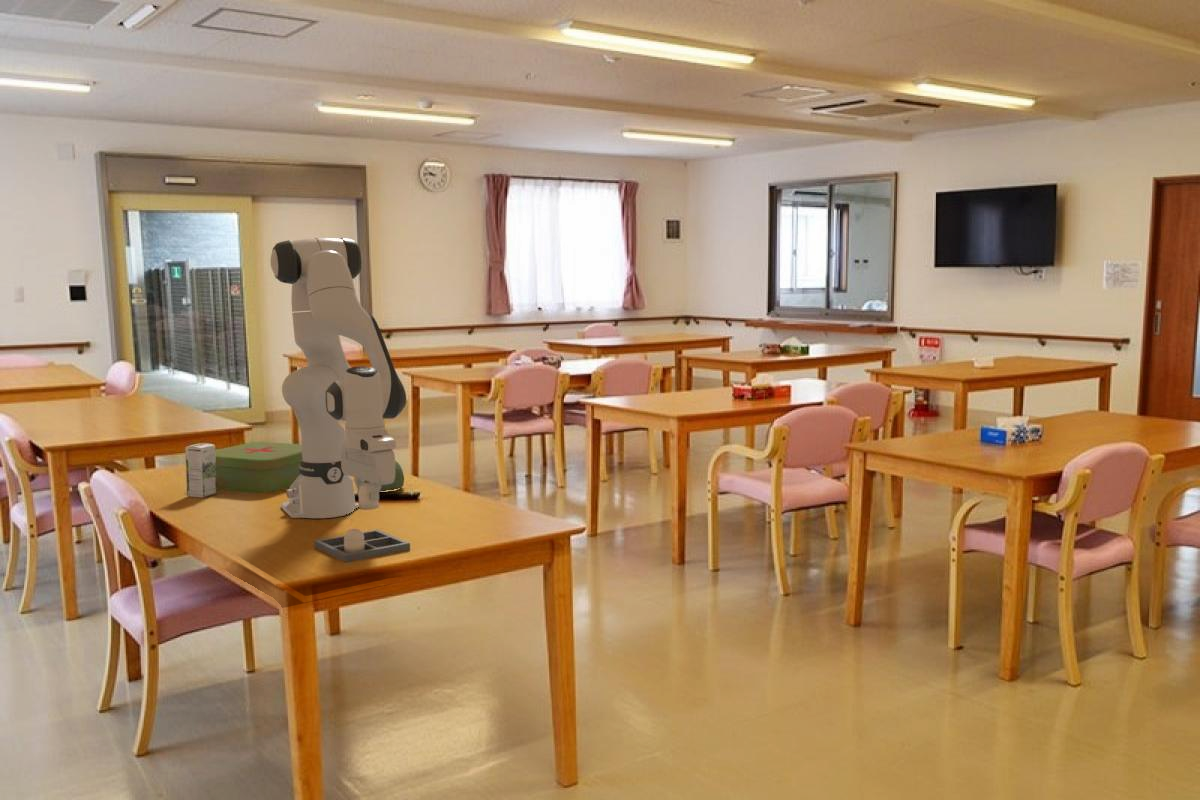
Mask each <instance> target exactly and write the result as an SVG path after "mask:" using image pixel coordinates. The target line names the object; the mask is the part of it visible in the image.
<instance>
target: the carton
mask: <svg viewBox="0 0 1200 800" xmlns="http://www.w3.org/2000/svg"><path fill="white" fill-rule="evenodd" d="M362 533H363V534H364V541H365V550H364V551H359V552H354V553H348V554H347V553H345V552H344V535H345V534H344V535H339V536H333V537H327V538H322V539H315V540H314V548H315V549H316V550H317V549H318V550H319V551H320V552H323V553H326V554H328V555H329V556H331V557H333V558H334V559H335V558H336V559H337V560H340V561H341V562H343V563H345V564H346V563H349V562H350V563H351V562H354V561H355V562H356V561H360V560H366V559H370V558H375V557H380V556H386V555H391V554H396V553H401V551H402V552H406V550H407V551H410V550H411V543H410V542H408V541H406V540H404V539H401V538H399V537H396V536H394V535H392V534H389V533H387V532H385V531H382V530H381V529H380V530H379V529H373V530H367V531H362Z"/></svg>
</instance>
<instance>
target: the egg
mask: <svg viewBox="0 0 1200 800" xmlns="http://www.w3.org/2000/svg"><path fill="white" fill-rule="evenodd" d="M371 487H372V486H370V483H369V482H368V483H364V484H362V485H361V486H360V488H359V491H357V495H358V494H359V496H358V503H359V508H358V509H359V510H362V511H363V510H365V511H369V510H370V511H371V510H376V509H379V507H380V502H379V501H380V499H379V500H378V501H371V500H370V499H369V493H371Z"/></svg>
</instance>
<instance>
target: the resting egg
mask: <svg viewBox="0 0 1200 800" xmlns="http://www.w3.org/2000/svg"><path fill="white" fill-rule="evenodd" d="M362 532H363V531H362V530H360V529H359V528H350V529H349V530H347V531H346V532H345V534H344V552H345V553H347V554H348V553H354V552H359V551H364V550H365V541H364V534H363V533H362Z"/></svg>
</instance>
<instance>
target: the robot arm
mask: <svg viewBox="0 0 1200 800" xmlns="http://www.w3.org/2000/svg"><path fill="white" fill-rule="evenodd" d="M360 248H361V247H360V246H359V244H358V243H357V241H355V240H354V239H351V238H345V237H340V238H334V237H333V238H332V237H315V238H307V239H306V238H305V239H297V240H292V241H290V240H289V239H288V240H282V241H279V242H277V243H276V244H275V245H274V247H272V250H271V251H272V252H271V254H270V255H271V256H270V261H269V263H270V267H271V270H272V272H273V274H274V277H275V279H276V280H278V281H279V282H280V283H284V284H290V285H291V312H292V315H291V316H292V324H293V333H294V334H293V335H294V336H293V337H294V341H295V344H296V346H297V347H299V348H300V350H301V351H302V353H303V354H304V356H305V359H306V363H307V366H303V367H300V368H298V369H296V370H294V371H293V372H291V373H289V374H288V375H287V376H286V377H285V378H284V380H283V381H282V385H281V394H282V397H283V399H284V401H285V402H286V404H287V405H288V406H289V407H290V408H291V409H292V411H293V412H294V415H295V417H296V420H297V423H298V427H299V432H300V443H301V444H300V445H301V446H302V460H301V461H300V462H301V463H300V467H299V468H300V470H299V473H300V475H299V476H298V477H297V479H296V480H295V481H294V482H293V483H292V484H291V486H290V488H287V489H286V493H285V494H286V497H287V499H289V500H287V501H284V502H283V503H282V502H281V504H280V508H281V509H282V510H283V511H284V512H285V513H286V514H287V515H288V516H289V517H290V518H291V519H292V518H293V519H327V518H329V519H330V518H331V519H332V518H337V517H338V518H339V517H342V516H347V515H350V514H352V513H354V512H355V510H356V509H355V508H357V507H359V502H356V498H355V489H354V486H355V487H356V489H357V490H356V491H357V492H358V491H359V488H360V486H361V485H362V484H364V483H365V482H364V481H369V482H370V486H372V487H371V493H369V499H370V500H371V501H378V500H379V501H380V493H379V492H380V489H381V486H382V485H386V484H392V483H393V482H394V480H395V461H396V456H395V452H394V450H395V449H396V440H395V438H394V437H392V436H391V435H390V434H389V433H388V431H387V430H386V424H385V423H386V422H385V421H384V419H385V420H386V419H391V420H392V419H395V418H396V417H397V416H398V415H400V414H401V412H402V411H403V410H404V409H405V407H406V404H407V394H406V390H405V387H404V385H403V382H402V381H401V379H400V377H399V375H398V373H397V371H396V369H395V366H394V363H393V360H392V358H391V355H390V352H389V350H388V347H387V345H386V341H385V339H384V336H383V334H382V332H381V329H380V327H379V324H378V322H377V321H376V320H377V319H375V317H374V316H373V314H370V313H368V312H367V311H366V310H365V309H364V307H363V306H362V305H361V304H360V301H359V299H358V296H357V293H356V288H355V285H354V284H355V283H354V281H353V280H354V279H355V278H356V277H357V276H359V274H360V273H361V270H362V265H363V256H362V255H363V254H362V251H361V249H360ZM340 336H342V337H345V338H347V339H350V340H353V341H355V342H357V343H358V344H359V345H361V346H362V348H363V349H364V350H365V352H366V354H367V357H368V360H369V362H370V365H371V366H363V365H361V366H353V367H352V366H351V365H350V364H349V361H348V359H347V357H346V354H345V352H344V349H343V346H342V342H341V338H340ZM339 421H343V422H344V421H345V423H344V426H343V425H342V424H340V422H339ZM352 477H353V478H352ZM354 483H355V485H354ZM357 496H358V497H359V494H358V493H357ZM354 509H355V510H354ZM357 509H358V508H357ZM353 511H354V512H353ZM351 512H352V513H351ZM349 513H350V514H349ZM346 514H347V515H346Z"/></svg>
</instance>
